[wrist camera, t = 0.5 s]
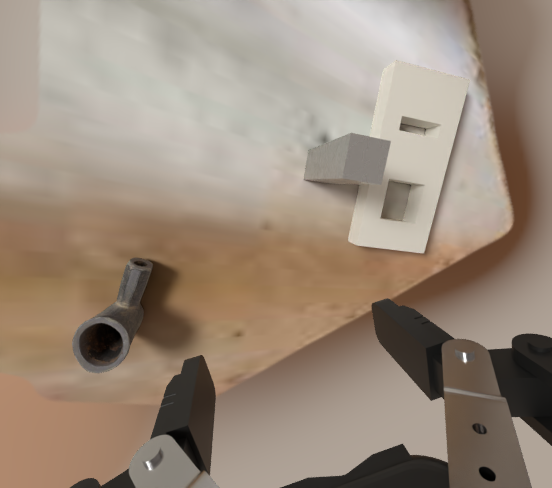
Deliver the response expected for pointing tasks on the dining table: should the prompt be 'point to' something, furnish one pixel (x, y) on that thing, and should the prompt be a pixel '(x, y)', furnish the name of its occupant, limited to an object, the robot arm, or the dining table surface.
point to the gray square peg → (348, 161)
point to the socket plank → (410, 154)
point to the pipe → (114, 323)
